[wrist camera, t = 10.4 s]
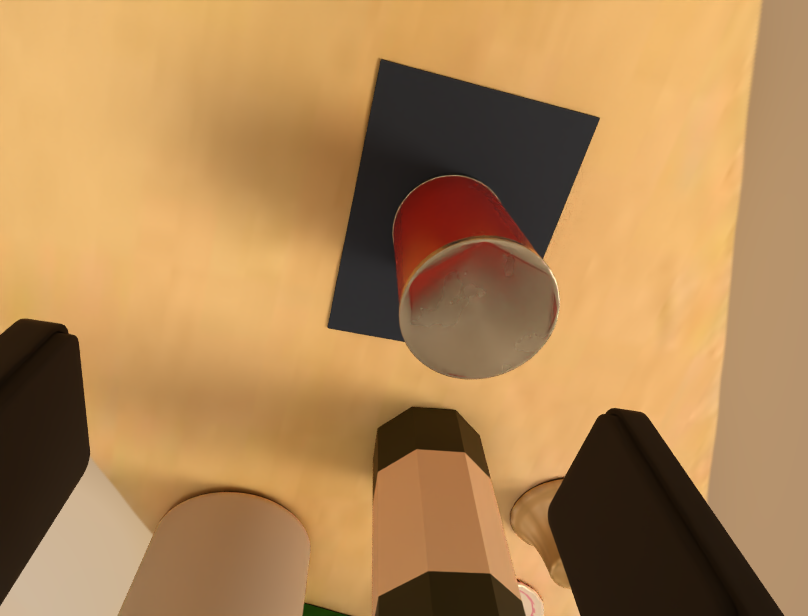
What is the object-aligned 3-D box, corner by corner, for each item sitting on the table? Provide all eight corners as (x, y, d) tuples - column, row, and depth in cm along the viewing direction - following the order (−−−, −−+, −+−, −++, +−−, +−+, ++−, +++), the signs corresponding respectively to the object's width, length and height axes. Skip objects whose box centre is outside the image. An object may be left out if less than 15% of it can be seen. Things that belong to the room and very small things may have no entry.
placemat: (380, 59, 25) (381, 59, 25) (599, 117, 27) (599, 118, 27) (327, 327, 32) (327, 327, 32) (501, 358, 34) (502, 359, 34)
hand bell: (504, 545, 44) (563, 783, 30) (516, 478, 40) (591, 718, 26) (596, 542, 45) (696, 776, 31) (617, 476, 41) (744, 710, 27)
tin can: (407, 160, 27) (422, 222, 19) (521, 187, 28) (586, 258, 20) (381, 269, 31) (383, 365, 22) (484, 290, 32) (526, 390, 23)
